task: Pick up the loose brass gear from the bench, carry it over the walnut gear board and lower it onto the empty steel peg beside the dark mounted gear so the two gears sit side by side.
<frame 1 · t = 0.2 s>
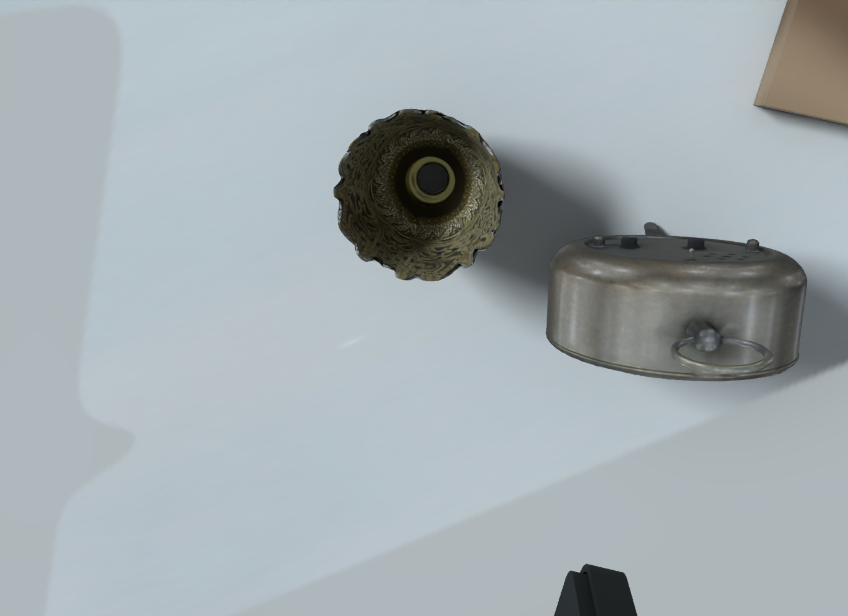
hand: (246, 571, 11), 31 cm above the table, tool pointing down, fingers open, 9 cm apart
alarm clock: (642, 262, 40), on the table
cup: (433, 178, 40), on the table
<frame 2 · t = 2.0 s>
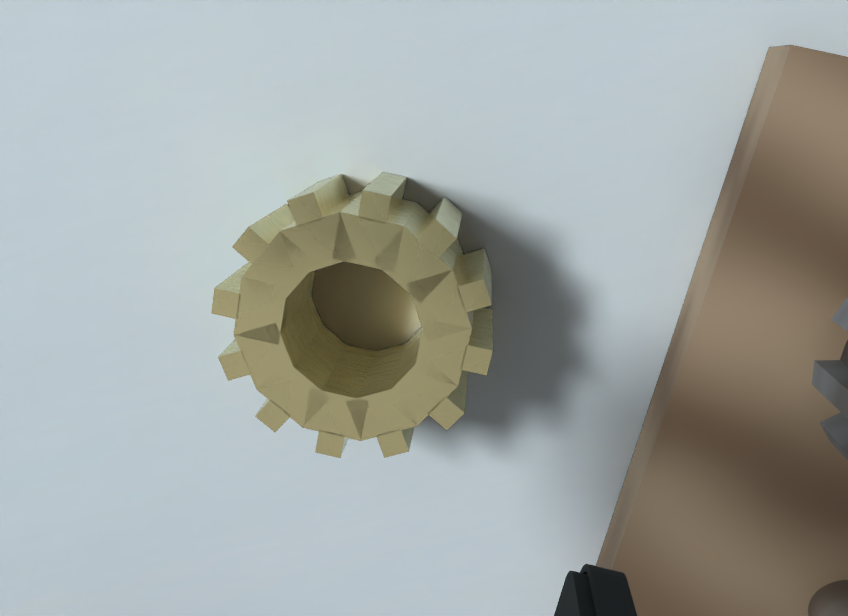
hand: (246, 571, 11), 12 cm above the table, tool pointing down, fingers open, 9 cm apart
brass gear: (371, 293, 22), on the table
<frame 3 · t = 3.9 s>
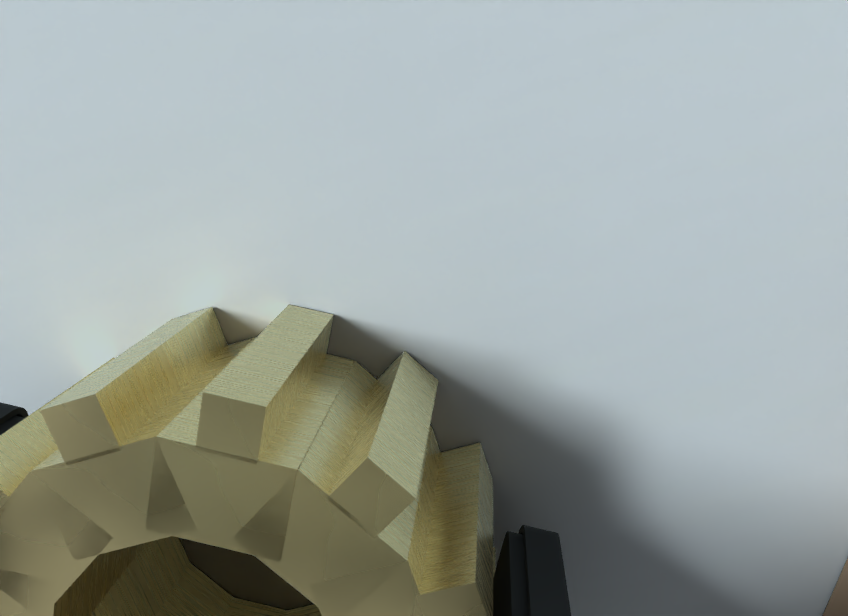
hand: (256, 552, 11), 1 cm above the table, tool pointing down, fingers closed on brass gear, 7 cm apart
brass gear: (275, 514, 12), on the table, touching gripper
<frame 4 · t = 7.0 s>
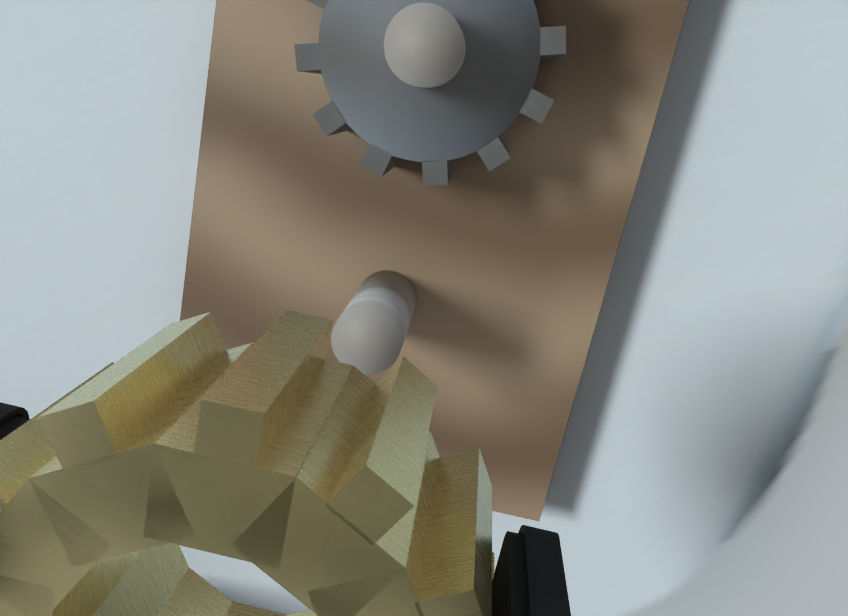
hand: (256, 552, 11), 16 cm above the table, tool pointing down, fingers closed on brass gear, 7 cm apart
gear board: (415, 177, 25), on the table
brass gear: (274, 519, 12), point 15 cm above the table, touching gripper
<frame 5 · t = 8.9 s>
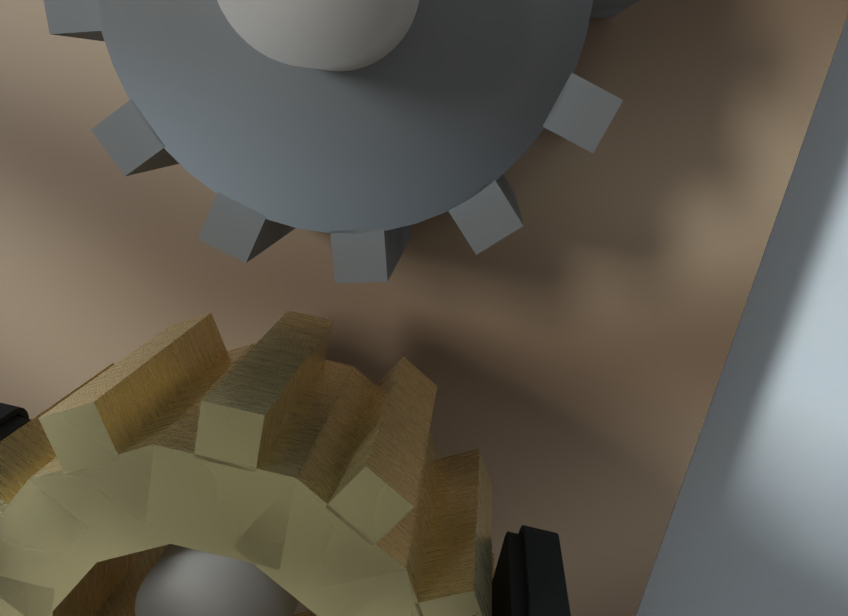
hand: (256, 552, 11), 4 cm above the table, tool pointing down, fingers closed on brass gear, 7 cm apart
gear board: (347, 237, 14), on the table
brass gear: (274, 520, 12), point 3 cm above the table, touching gripper
when the fingers open (3 cm above the table, at t = 10.3 s): brass gear stays where it is, resting on gear board.
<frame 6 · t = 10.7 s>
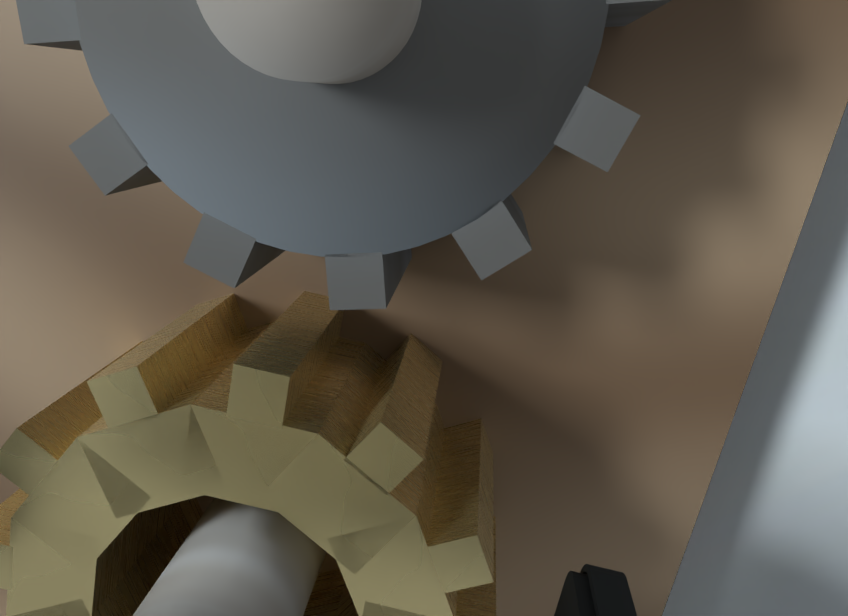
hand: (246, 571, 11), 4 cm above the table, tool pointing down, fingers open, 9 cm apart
gear board: (345, 255, 14), on the table
brass gear: (291, 487, 13), point 1 cm above the table, touching gear board
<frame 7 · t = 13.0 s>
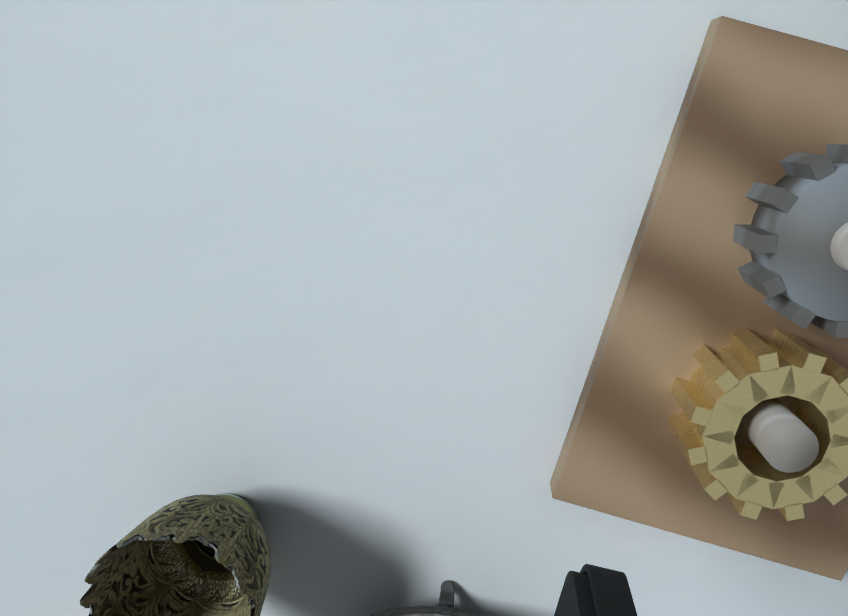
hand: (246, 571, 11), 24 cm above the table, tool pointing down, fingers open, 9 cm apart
gear board: (773, 313, 33), on the table
brass gear: (752, 406, 33), point 1 cm above the table, touching gear board
alarm clock: (442, 613, 39), on the table
cup: (231, 517, 39), on the table
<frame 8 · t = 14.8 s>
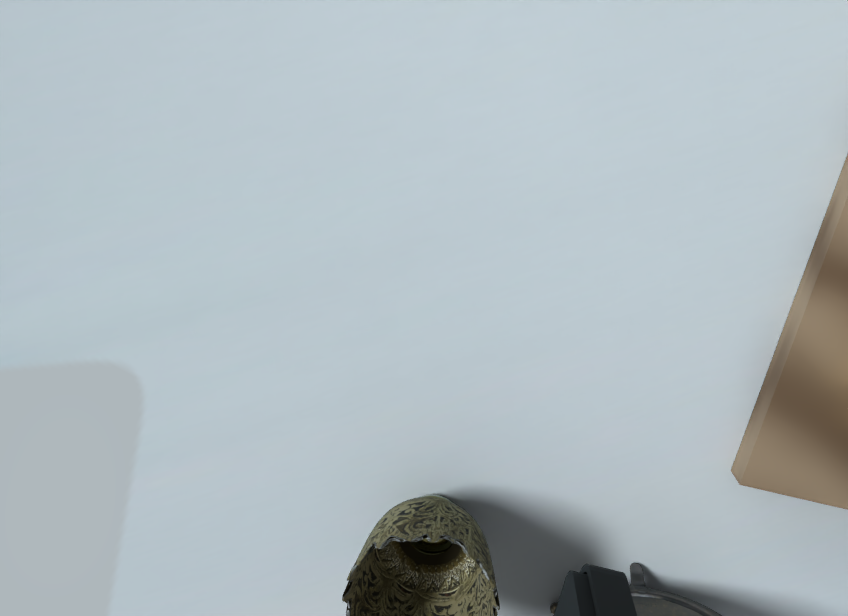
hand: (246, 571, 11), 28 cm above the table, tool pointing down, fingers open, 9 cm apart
alarm clock: (628, 592, 43), on the table
cup: (433, 515, 43), on the table
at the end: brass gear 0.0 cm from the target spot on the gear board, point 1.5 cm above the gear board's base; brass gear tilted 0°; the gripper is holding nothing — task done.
